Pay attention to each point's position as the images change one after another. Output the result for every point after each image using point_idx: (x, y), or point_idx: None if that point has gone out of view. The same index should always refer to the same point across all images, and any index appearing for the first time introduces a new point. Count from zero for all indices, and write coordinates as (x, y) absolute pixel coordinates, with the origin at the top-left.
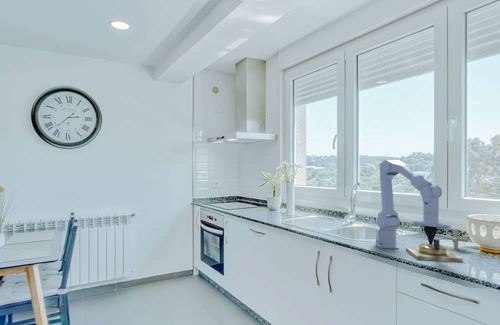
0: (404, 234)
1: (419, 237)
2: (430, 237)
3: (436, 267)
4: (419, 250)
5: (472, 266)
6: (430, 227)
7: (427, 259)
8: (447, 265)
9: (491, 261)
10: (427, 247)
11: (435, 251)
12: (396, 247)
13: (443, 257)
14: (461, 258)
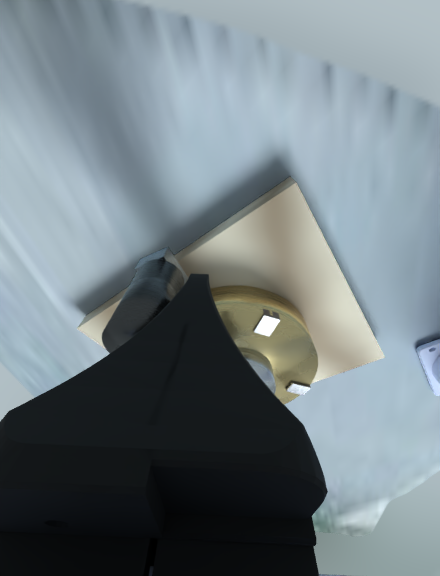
0: (379, 502)
1: (329, 496)
2: (174, 319)
3: (93, 10)
4: (302, 318)
5: (8, 267)
6: (141, 567)
7: (228, 219)
8: (85, 176)
9: (38, 388)
10: (255, 339)
11: (163, 249)
12: (433, 350)
13: None
14: (81, 325)
